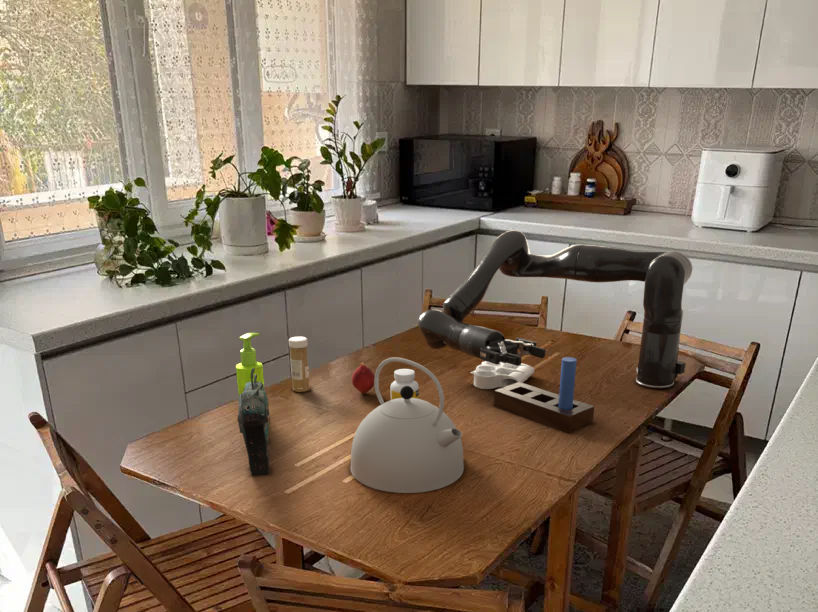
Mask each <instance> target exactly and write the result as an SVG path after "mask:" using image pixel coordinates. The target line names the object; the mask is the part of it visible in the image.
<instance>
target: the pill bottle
mask: <svg viewBox="0 0 818 612" xmlns="http://www.w3.org/2000/svg"><path fill="white" fill-rule="evenodd" d="M393 378H394V381H392V382H391V384H390V388H389V389H390V391H389V392H390V400H393V399H397V398H402V397H401V395H400V390H401V389H402V387H404V386H410V387H411V388H412V389H413V391H414V394H413V396H412V398H417V399H420V385H419V383H418V382H417V381H416V380H415V378H416V371H415V370H413V369H410V368H399V369H395V370H394V372H393Z"/></svg>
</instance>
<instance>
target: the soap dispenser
mask: <svg viewBox="0 0 818 612" xmlns="http://www.w3.org/2000/svg"><path fill="white" fill-rule="evenodd" d="M259 336H261V333H259V332H253V331H251V332H247V333H245V334H243V335H241V336H239V341H242V343H243V344H242V345H243V348H242V349H240V351H239V355H240V362H239V363H237V364H236V365H235V371H236V382H237V390H238V391H237V392H238V393H237V394H238V395H239V394H242V392H243V391H244V388H245V385H246V383H247V382H251V369H252V368H255V370H254V372H253V382H254V375H255V374H256V375H257V380H256V382H262V383H263V384H264V385H263V386H264V387H265V380H264V379H265V378H264V367H263V366H264V365H263V363H262V362H259V361H258V360H257V351H256V348H254V347H252V339H253V338H255V337H259Z"/></svg>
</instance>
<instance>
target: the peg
mask: <svg viewBox="0 0 818 612" xmlns="http://www.w3.org/2000/svg"><path fill="white" fill-rule="evenodd" d="M577 362H578V361H577V358H576V357H571V356H565V357H562V358H561V367H560V379H559V391H558V395H559V404H558V408H561V409H564V410H567V411H568V410H571V409H573V400H574V396H575V386H576V375H577Z"/></svg>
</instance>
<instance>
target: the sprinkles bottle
mask: <svg viewBox="0 0 818 612" xmlns="http://www.w3.org/2000/svg"><path fill="white" fill-rule="evenodd" d="M288 346H289V355H290V370H291V380H292V381H291V383H292V390H293V392H297V393H303V392H304V393H305V392H308V391H309V390H310V389H311V385H310V369H309V359H308V338H307V337H305V336H301V335H300V336H299V335H298V336H292V337H289V339H288ZM309 385H310V386H309ZM308 386H309V387H308ZM294 387H295V388H294ZM306 387H307V388H306ZM297 388H303V389H297Z"/></svg>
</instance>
